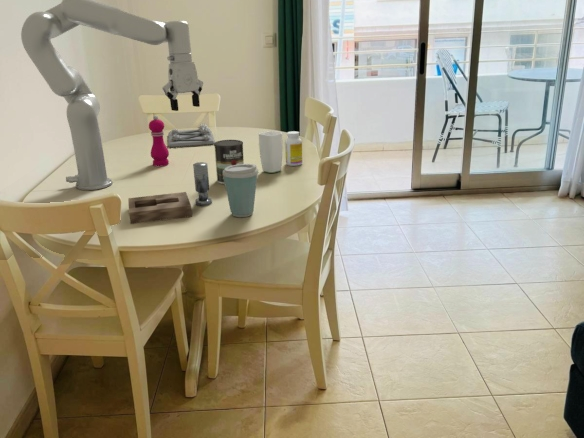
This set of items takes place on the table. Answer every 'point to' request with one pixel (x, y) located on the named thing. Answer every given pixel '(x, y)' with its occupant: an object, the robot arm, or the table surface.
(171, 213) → the keyhole plate
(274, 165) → the cup
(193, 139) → the grey piece
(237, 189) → the disposable coffee cup
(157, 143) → the pepper mill
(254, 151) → the table surface
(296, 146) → the supplement bottle
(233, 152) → the coffee can
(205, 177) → the peg
